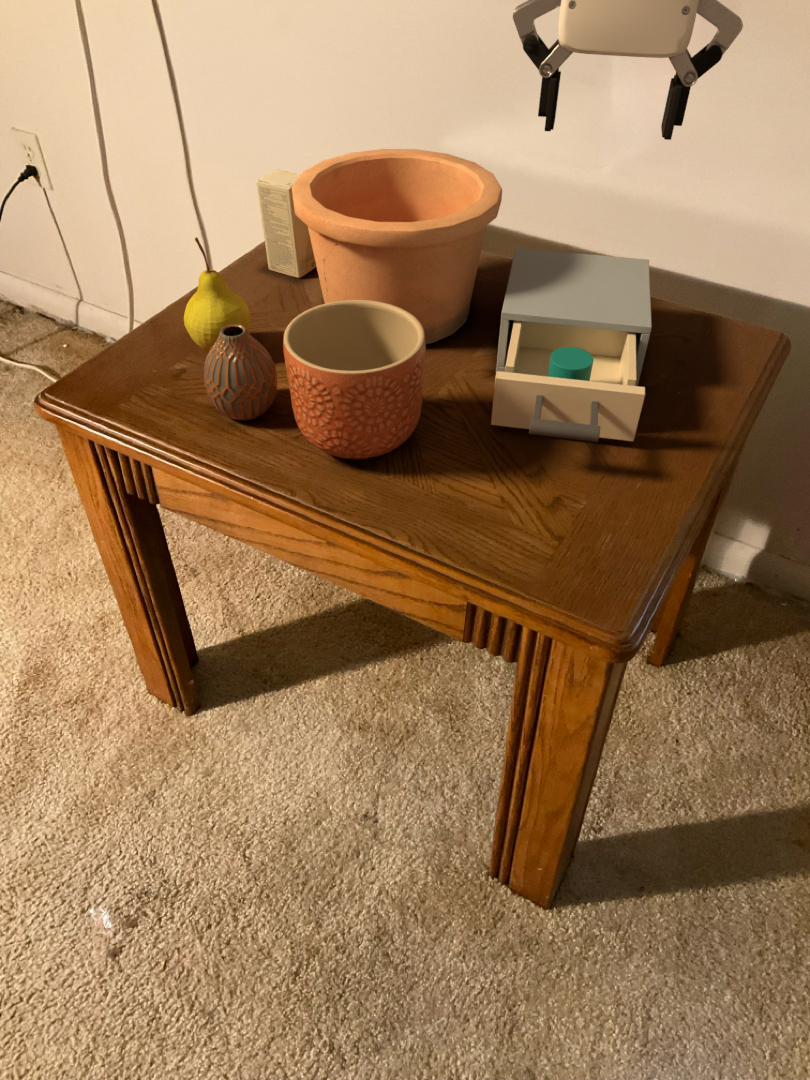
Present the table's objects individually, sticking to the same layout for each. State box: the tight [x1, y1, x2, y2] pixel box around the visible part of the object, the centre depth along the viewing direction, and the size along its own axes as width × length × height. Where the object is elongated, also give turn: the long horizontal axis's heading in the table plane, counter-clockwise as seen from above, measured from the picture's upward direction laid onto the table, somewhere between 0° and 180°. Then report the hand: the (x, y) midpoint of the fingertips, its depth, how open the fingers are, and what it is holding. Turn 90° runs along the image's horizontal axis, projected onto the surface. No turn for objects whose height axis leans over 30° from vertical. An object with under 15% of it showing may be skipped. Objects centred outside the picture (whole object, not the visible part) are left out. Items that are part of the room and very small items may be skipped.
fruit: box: [183, 237, 252, 353], centre depth 85 cm, size 7×7×12 cm
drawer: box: [490, 320, 646, 443], centre depth 78 cm, size 19×13×5 cm
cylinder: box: [548, 347, 593, 381], centre depth 79 cm, size 4×4×4 cm
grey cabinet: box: [495, 247, 653, 386], centre depth 88 cm, size 15×15×7 cm
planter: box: [282, 300, 427, 460], centre depth 75 cm, size 12×12×11 cm
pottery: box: [292, 148, 503, 345], centre depth 90 cm, size 22×22×14 cm
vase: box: [203, 324, 278, 421], centre depth 78 cm, size 7×7×9 cm
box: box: [255, 168, 317, 279], centre depth 99 cm, size 5×4×11 cm
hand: (607, 130), depth 69 cm, fingers open, 9 cm apart
